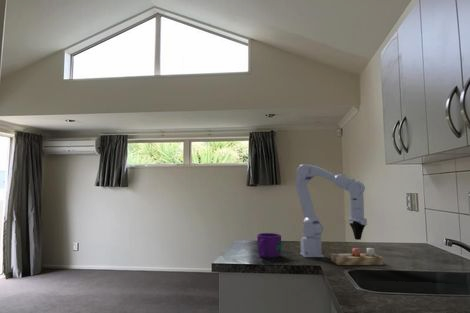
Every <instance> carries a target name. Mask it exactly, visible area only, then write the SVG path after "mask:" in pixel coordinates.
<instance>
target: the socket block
mask: <svg viewBox="0 0 470 313" xmlns="http://www.w3.org/2000/svg"><path fill="white" fill-rule="evenodd" d="M338 254H339V253H331V254H330V261H331V262H333V263H334V264H336V265H337V266H357V265H359V266H363V265H365V266H367V265H368V266H370V265H371V266H372V265H375V266H376V265H377V266H379V265H381V266H382V265H384V258H383V257H382V256H380V255H378V254H377V253H374V255H375V256H374V257H369V256H367V253H360V257H354V256H353V253H345V254H346V257H339V256H338Z"/></svg>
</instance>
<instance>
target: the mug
mask: <svg viewBox="0 0 470 313" xmlns="http://www.w3.org/2000/svg"><path fill="white" fill-rule="evenodd" d="M256 238H257V240H256V241H257V242H256V243H257V253H258V256H260V257H262V258H267V259H273V258H275V259H276V258H279V257H280V255H281V250H282V235H281V234H279V233H273V232H263V233H258V234H257V236H256Z"/></svg>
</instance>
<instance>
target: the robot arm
mask: <svg viewBox="0 0 470 313" xmlns="http://www.w3.org/2000/svg"><path fill="white" fill-rule="evenodd" d="M295 172H296V177H295V182H294V183H295V187H296V191H297V195H298V198H299V199H298V200H299V202H300V206H301V209H302V213H303V217H304V218H303V222H302V224H303V229H302V230H303V234H304V235H305V236H302V237H301V238H300V255H301V256H302V257H304V258H325V256H324V255H323V254H322V233H323V231H324V228H323V227H324V226H323V225H322V223H321V222H320V219H319V218H318V217H317V215H316V214H315V210H314V205H313V202H312V199H311V194H310V192H309V187H308V183H309V182H310V181H311V180H312V179H313V178H314V177H315V176H316V177H317V176H319V177H322V178H324V179H326V180H329V181H331V182H333V184H334V186H336V187H338V188H341V189H343V190H345V191H348V193H349V206H350V207H349V211H350V212H349V213H350V214H349V215H350V216H348V222H349V225H350V228H351V229H352V232H353V236H354V240H356V241H357V240H362V235H363V232H364V229H365V227H366V226H367V225H368V221H367V220H368V219H367V218H365V203H364V202H365V201H364V192H365V190H366V186H365V185H364V183H363V182H361V181H359V180H358V181H356V179H355V178H351V177H348V176H346V174H345V173H342V174H341V173H339V174H335V173H333V172H330V171H329V170H327V169H324V168H322V167H319V166H318V165H317V166H316V165H313V164H305V163H302V164H299V166H297V169H296V170H295Z"/></svg>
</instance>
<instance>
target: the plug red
mask: <svg viewBox="0 0 470 313" xmlns="http://www.w3.org/2000/svg"><path fill="white" fill-rule="evenodd" d="M352 254H353V256H354V257H360V254H361V248H359V247H352Z"/></svg>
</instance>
